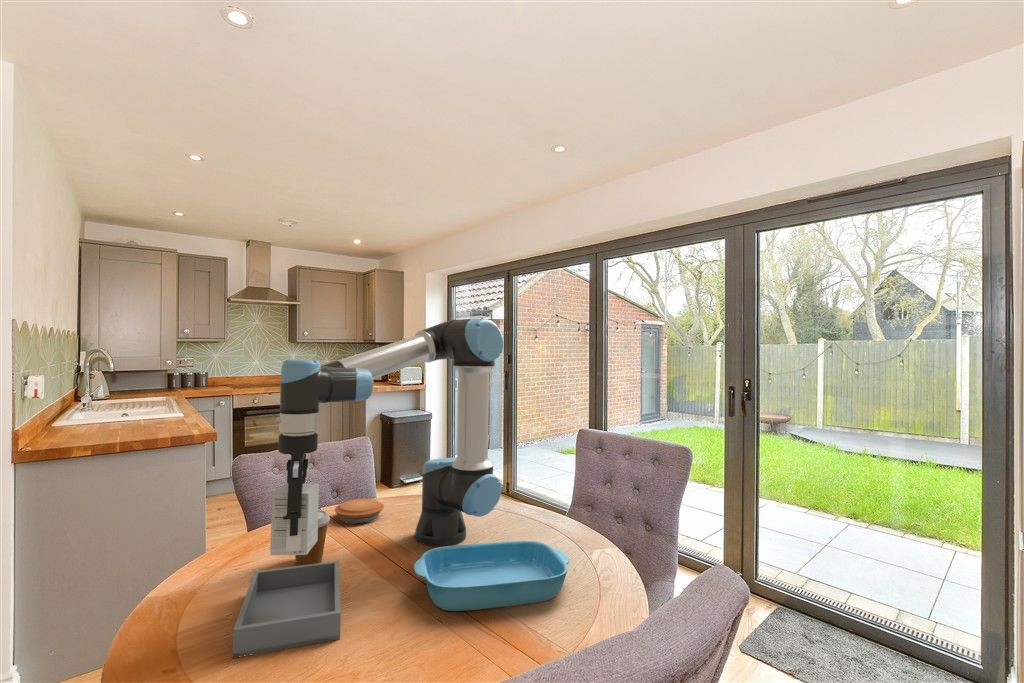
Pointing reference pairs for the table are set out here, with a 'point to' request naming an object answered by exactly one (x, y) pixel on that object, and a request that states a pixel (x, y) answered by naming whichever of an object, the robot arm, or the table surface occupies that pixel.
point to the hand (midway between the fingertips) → (295, 541)
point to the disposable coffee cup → (317, 550)
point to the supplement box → (308, 519)
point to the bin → (289, 609)
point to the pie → (359, 510)
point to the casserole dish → (492, 574)
